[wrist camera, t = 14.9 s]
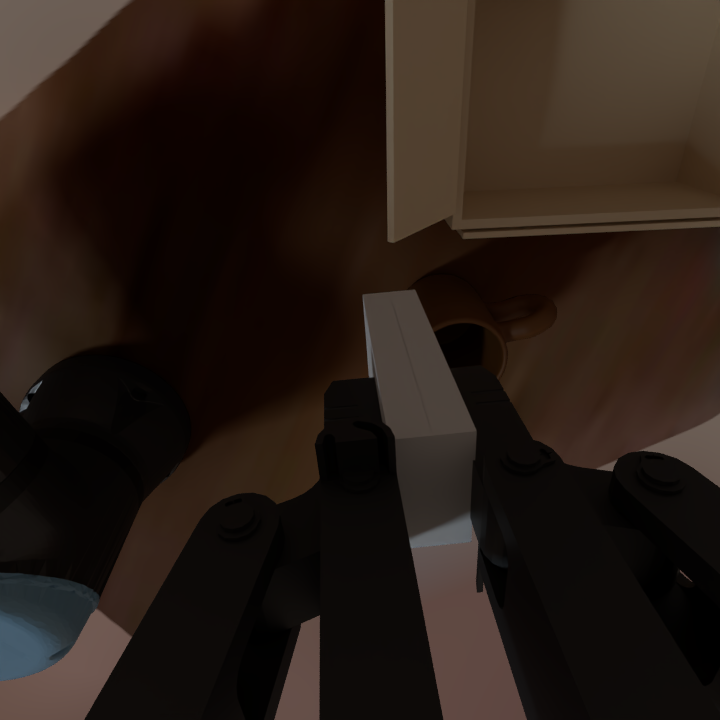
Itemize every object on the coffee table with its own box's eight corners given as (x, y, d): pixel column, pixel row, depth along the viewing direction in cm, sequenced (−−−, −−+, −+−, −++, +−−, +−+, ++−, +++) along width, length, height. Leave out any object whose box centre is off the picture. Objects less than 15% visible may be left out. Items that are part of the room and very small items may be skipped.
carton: (429, 208, 40) (451, 240, 32) (437, -31, 33) (467, -65, 25) (674, 196, 40) (754, 225, 33) (739, -44, 33) (864, -81, 25)
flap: (392, -37, 20) (384, -35, 21) (394, 242, 26) (387, 241, 26) (468, -19, 25) (461, -18, 25) (455, 213, 31) (449, 212, 31)
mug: (512, 233, 42) (554, 272, 33) (536, 308, 45) (579, 360, 37) (381, 293, 44) (391, 343, 36) (414, 360, 47) (429, 419, 39)
